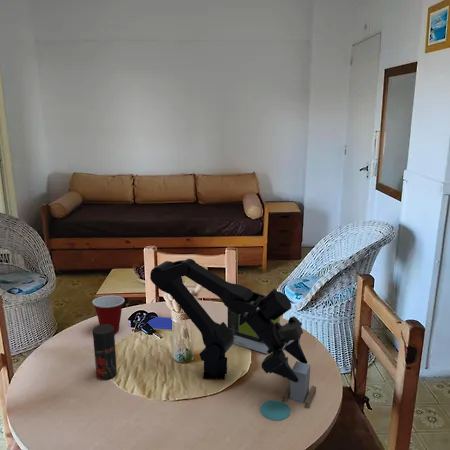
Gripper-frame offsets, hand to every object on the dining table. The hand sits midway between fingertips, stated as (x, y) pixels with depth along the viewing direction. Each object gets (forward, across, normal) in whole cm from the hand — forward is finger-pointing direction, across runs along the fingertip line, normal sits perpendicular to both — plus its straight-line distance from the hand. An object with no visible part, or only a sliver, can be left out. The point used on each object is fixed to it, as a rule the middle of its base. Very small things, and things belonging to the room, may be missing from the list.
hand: (302, 372), depth 125 cm
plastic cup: (-45, +8, +55) cm, 71 cm away
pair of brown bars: (+5, 0, +6) cm, 8 cm away
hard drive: (-36, +19, +47) cm, 62 cm away
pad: (+2, -8, +9) cm, 12 cm away
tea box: (-10, +22, +21) cm, 32 cm away
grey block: (+5, 0, +6) cm, 8 cm away
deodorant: (-34, -14, +44) cm, 58 cm away
